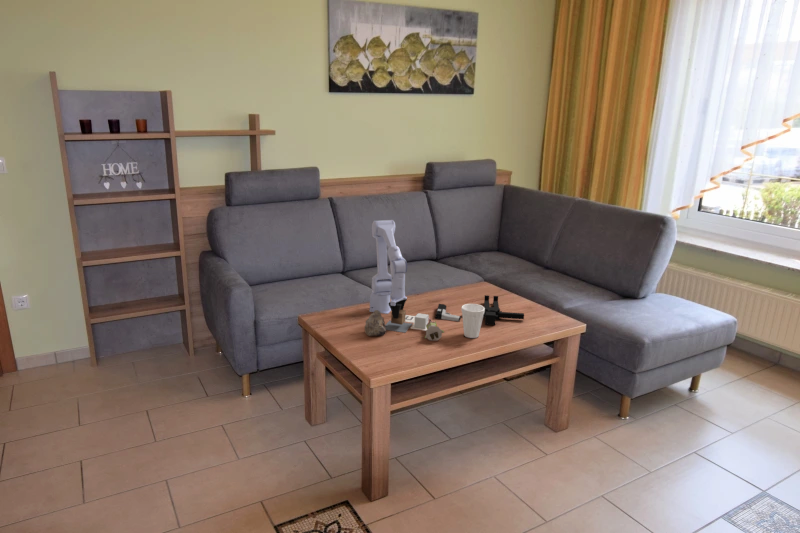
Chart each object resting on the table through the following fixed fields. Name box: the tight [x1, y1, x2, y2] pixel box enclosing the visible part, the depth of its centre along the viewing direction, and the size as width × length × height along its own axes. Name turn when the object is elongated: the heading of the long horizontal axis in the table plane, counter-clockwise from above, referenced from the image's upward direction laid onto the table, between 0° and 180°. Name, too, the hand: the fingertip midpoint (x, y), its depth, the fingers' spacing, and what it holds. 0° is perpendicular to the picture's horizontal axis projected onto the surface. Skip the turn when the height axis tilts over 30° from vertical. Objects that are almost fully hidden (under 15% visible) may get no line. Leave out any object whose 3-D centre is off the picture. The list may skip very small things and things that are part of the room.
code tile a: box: [405, 314, 416, 324], centre depth 260 cm, size 8×8×1 cm
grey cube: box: [414, 312, 430, 329], centre depth 250 cm, size 5×5×5 cm
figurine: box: [424, 316, 445, 341], centre depth 241 cm, size 9×7×15 cm
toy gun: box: [434, 303, 462, 322], centre depth 266 cm, size 3×16×12 cm
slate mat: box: [385, 320, 413, 334], centre depth 250 cm, size 11×11×1 cm
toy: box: [483, 294, 525, 326], centre depth 268 cm, size 28×6×30 cm
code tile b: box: [410, 323, 427, 332], centre depth 251 cm, size 8×8×1 cm
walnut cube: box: [390, 309, 407, 325], centre depth 249 cm, size 5×5×5 cm
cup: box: [460, 303, 485, 339], centre depth 241 cm, size 10×10×13 cm
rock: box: [364, 310, 387, 337], centre depth 241 cm, size 9×12×10 cm
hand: (397, 315), depth 249 cm, fingers closed on walnut cube, 5 cm apart
